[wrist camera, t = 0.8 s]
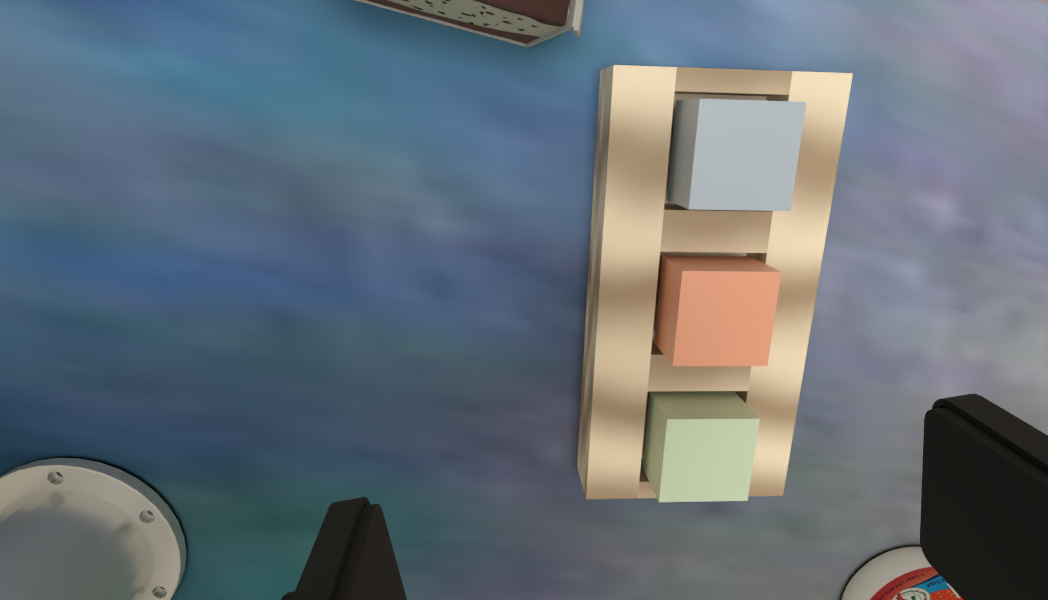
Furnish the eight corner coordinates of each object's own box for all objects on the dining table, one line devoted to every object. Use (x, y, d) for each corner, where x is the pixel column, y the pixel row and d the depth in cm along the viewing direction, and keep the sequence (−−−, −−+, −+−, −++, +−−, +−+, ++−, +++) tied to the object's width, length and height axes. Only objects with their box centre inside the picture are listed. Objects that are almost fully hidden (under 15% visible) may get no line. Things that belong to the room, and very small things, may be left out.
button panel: (758, 464, 41) (782, 495, 38) (577, 467, 40) (586, 499, 37) (816, 77, 34) (852, 73, 31) (600, 70, 33) (613, 64, 30)
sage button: (723, 466, 38) (747, 500, 34) (642, 467, 37) (658, 502, 34) (733, 390, 36) (759, 418, 33) (649, 391, 36) (667, 419, 33)
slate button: (759, 201, 33) (790, 211, 30) (667, 199, 33) (688, 209, 30) (772, 103, 32) (806, 101, 29) (676, 100, 31) (699, 98, 28)
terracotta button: (740, 342, 36) (767, 366, 32) (654, 342, 35) (672, 366, 32) (751, 256, 34) (781, 272, 31) (662, 255, 34) (682, 270, 30)
